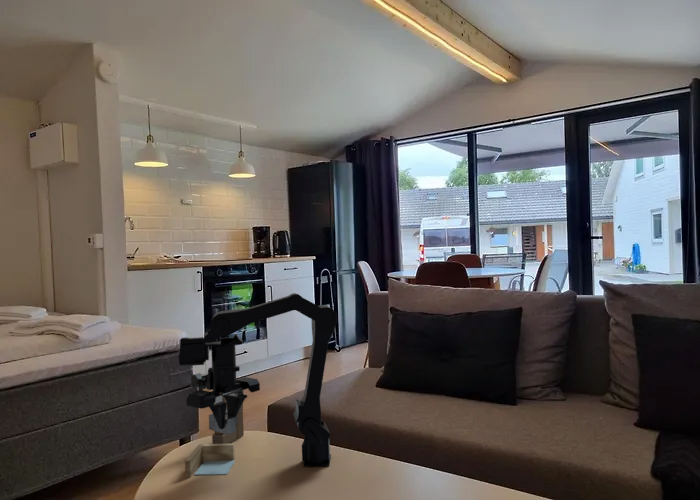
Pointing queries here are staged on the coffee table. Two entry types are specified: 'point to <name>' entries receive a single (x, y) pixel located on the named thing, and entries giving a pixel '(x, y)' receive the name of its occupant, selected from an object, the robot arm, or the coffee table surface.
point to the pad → (215, 467)
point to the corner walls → (208, 455)
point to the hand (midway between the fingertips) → (225, 427)
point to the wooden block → (229, 438)
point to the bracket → (228, 425)
